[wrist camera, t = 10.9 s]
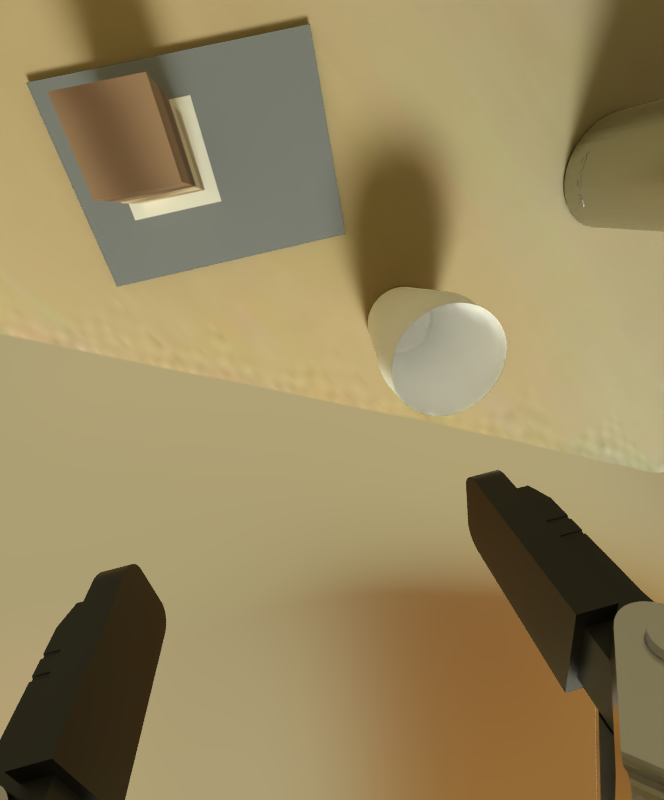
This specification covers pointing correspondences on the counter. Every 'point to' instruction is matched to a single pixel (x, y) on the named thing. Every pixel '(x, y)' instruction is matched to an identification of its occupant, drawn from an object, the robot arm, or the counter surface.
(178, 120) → the maple block
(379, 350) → the cup
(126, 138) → the walnut block
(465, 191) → the counter surface
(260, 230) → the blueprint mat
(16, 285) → the counter surface
